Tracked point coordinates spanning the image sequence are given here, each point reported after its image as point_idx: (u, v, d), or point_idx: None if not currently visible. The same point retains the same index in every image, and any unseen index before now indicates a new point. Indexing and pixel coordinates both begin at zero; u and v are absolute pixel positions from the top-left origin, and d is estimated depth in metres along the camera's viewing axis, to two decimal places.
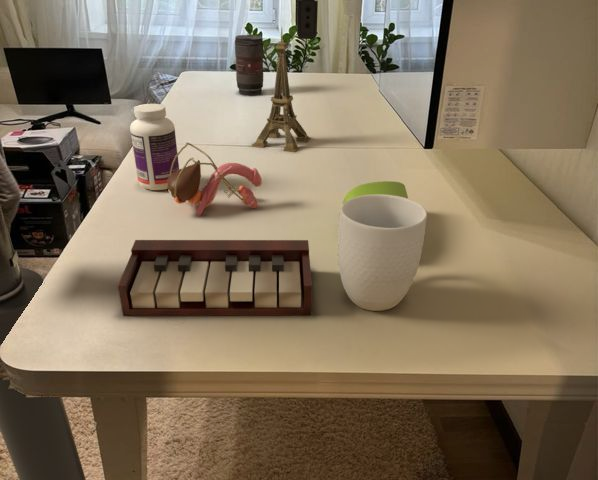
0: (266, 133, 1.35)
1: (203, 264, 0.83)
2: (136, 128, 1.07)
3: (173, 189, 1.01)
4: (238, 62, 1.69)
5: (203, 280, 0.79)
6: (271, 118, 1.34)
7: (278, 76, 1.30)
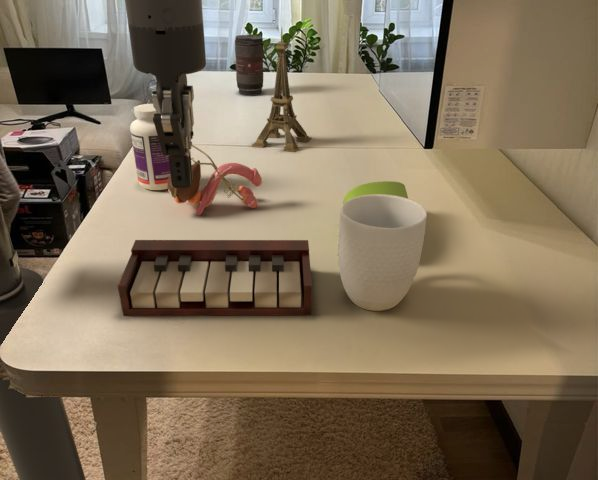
0: (266, 133, 1.35)
1: (203, 264, 0.83)
2: (136, 128, 1.07)
3: (173, 189, 1.01)
4: (238, 62, 1.69)
5: (203, 280, 0.79)
6: (271, 118, 1.34)
7: (278, 76, 1.30)
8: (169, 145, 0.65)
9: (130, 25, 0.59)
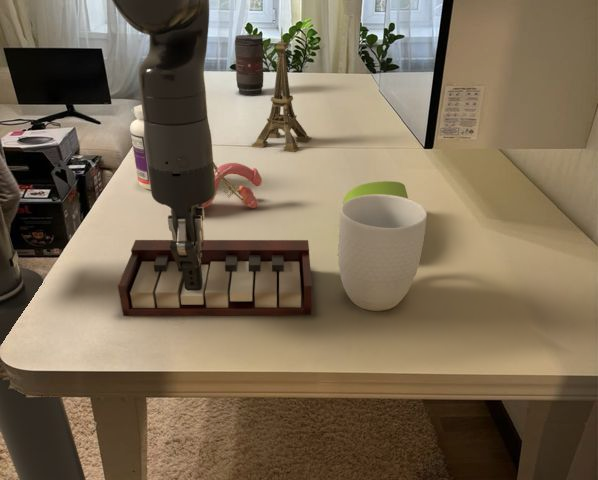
0: (266, 133, 1.35)
1: (203, 267, 0.83)
2: (136, 128, 1.07)
3: None
4: (238, 62, 1.69)
5: (203, 283, 0.80)
6: (271, 118, 1.34)
7: (278, 76, 1.30)
8: None
9: (149, 166, 0.67)
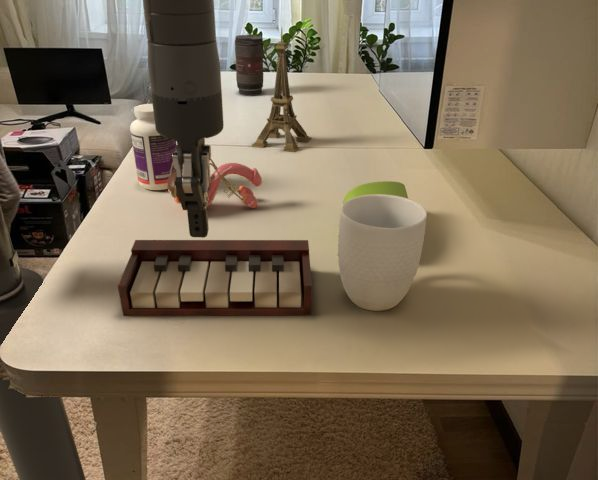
0: (266, 133, 1.35)
1: (203, 264, 0.83)
2: (136, 128, 1.07)
3: (173, 189, 1.01)
4: (238, 62, 1.69)
5: (203, 280, 0.79)
6: (271, 118, 1.34)
7: (278, 76, 1.30)
8: (188, 200, 0.69)
9: (153, 94, 0.63)
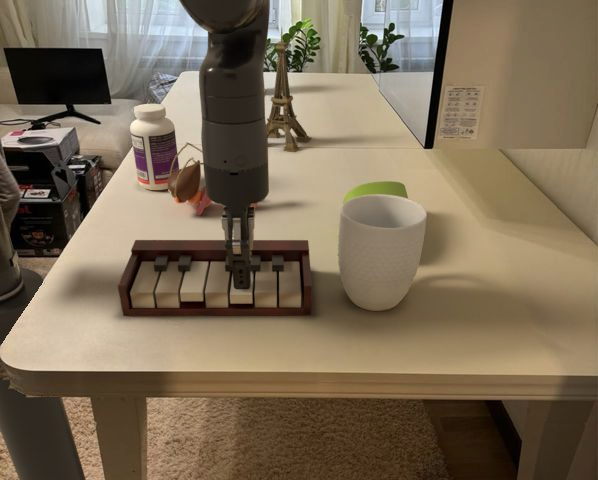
0: None
1: (203, 264, 0.83)
2: (136, 128, 1.07)
3: (173, 189, 1.01)
4: None
5: (203, 280, 0.79)
6: (271, 118, 1.34)
7: (278, 76, 1.30)
8: None
9: (206, 165, 0.67)
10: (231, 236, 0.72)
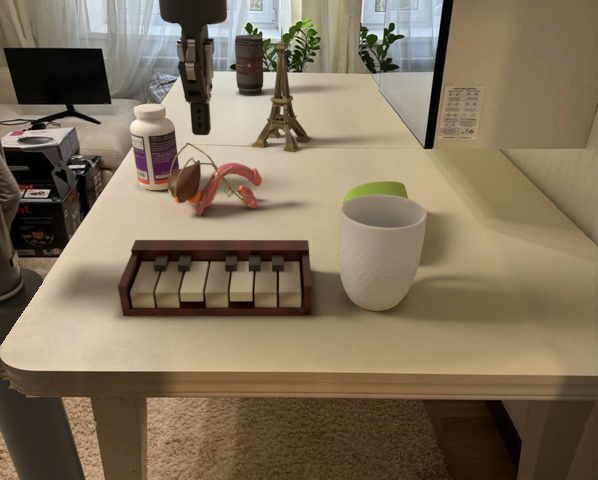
0: (266, 133, 1.35)
1: (203, 264, 0.83)
2: (136, 128, 1.07)
3: (173, 189, 1.01)
4: (238, 62, 1.69)
5: (203, 280, 0.79)
6: (271, 118, 1.34)
7: (278, 76, 1.30)
8: (191, 91, 0.70)
9: None
10: None
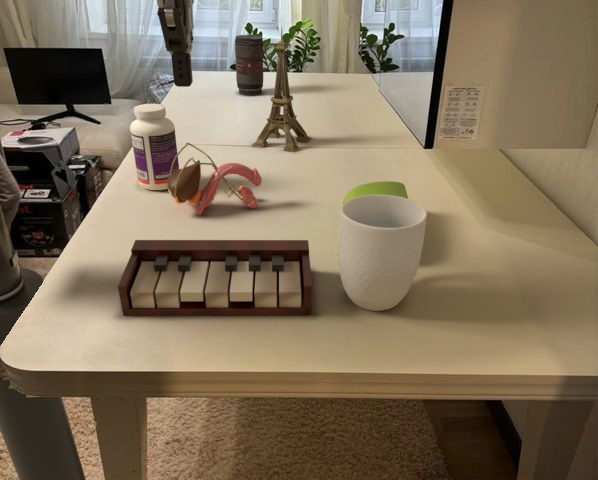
0: (266, 133, 1.35)
1: (203, 264, 0.83)
2: (136, 128, 1.07)
3: (173, 189, 1.01)
4: (238, 62, 1.69)
5: (203, 280, 0.79)
6: (271, 118, 1.34)
7: (278, 76, 1.30)
8: (172, 40, 0.71)
9: None
10: None
